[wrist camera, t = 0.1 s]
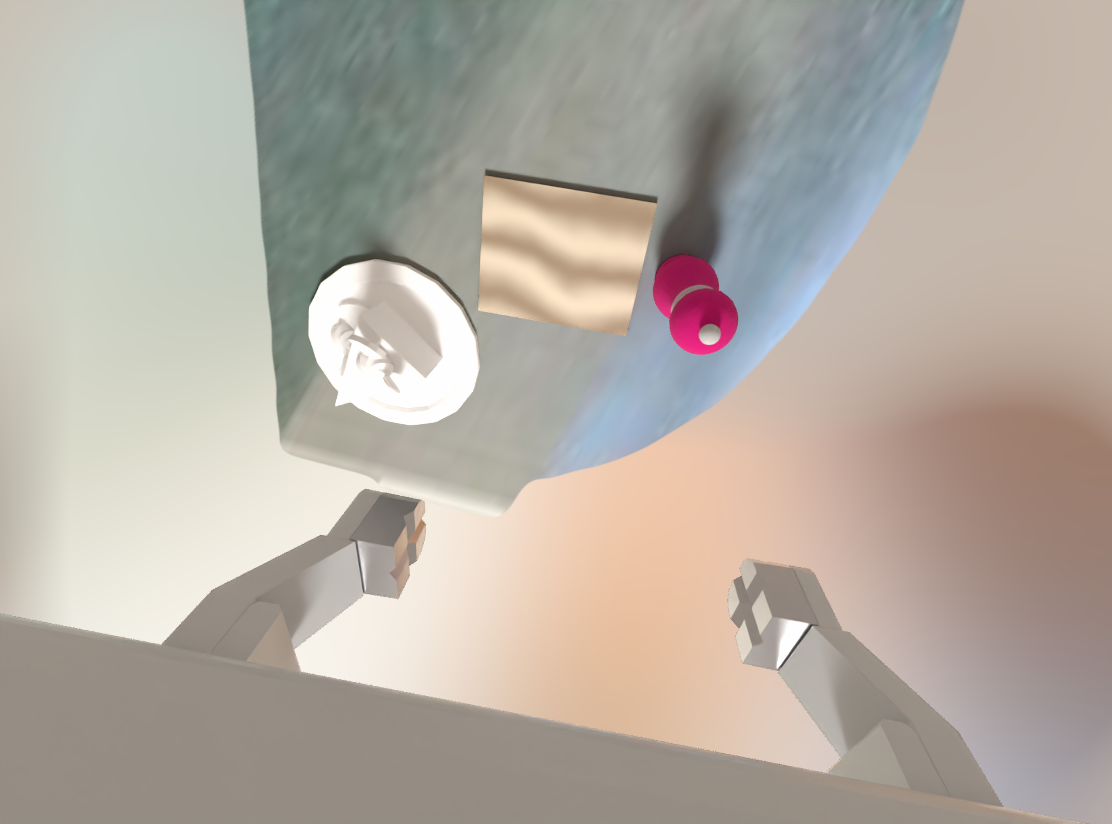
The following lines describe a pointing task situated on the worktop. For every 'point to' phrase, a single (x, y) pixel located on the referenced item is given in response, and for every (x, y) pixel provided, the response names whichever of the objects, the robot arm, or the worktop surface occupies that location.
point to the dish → (393, 342)
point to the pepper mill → (694, 304)
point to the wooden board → (561, 254)
